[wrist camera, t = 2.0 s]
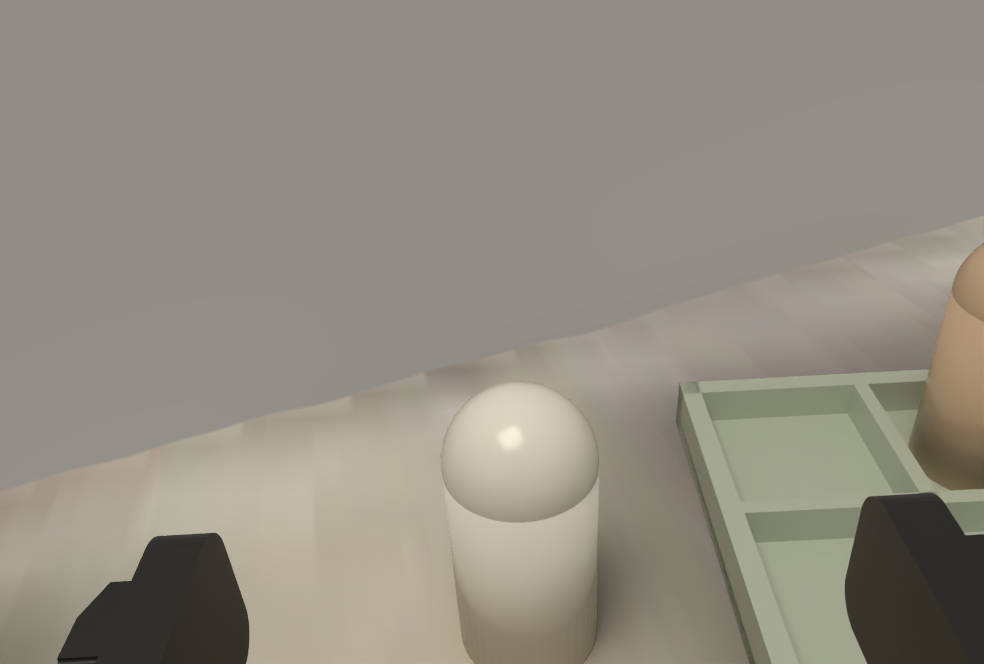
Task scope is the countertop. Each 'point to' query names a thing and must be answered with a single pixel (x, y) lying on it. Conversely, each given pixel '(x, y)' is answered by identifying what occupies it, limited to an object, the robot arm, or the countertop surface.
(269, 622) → the countertop surface
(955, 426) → the tan dome-topped cylinder
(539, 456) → the white dome-topped cylinder
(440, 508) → the countertop surface
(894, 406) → the green rectangular open tray
